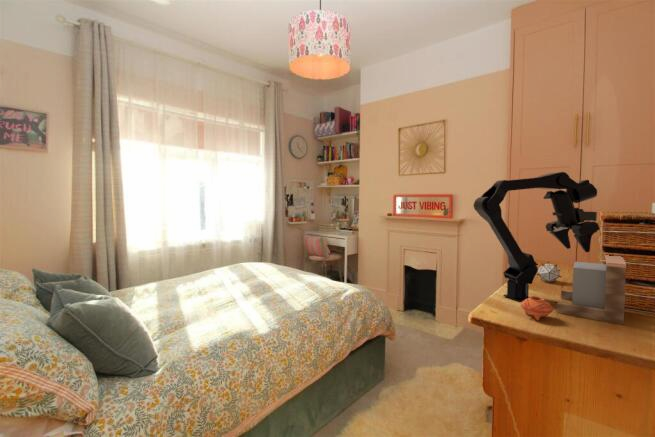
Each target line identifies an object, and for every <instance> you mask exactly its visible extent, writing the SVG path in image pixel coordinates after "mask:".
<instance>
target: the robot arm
mask: <svg viewBox="0 0 655 437" xmlns="http://www.w3.org/2000/svg"><path fill="white" fill-rule="evenodd" d="M530 189H531V190H532V189H541V190H548V191H546V193H545V195H544V196H543V197H542V198H543V200H548V199H549V200H551V205H552V208H553V209H554V211H553V212H552V216H556V220H554V221H550V222H547V223H546V224H545V229H546V231H547V232H549V234H551V235H552V236H553V237H554V238H555V239H557V240H558V242H560V243H561V244H562V245H563V247H565V248H566V249H567V250H569V249H571V242H570V237H569V231H570V230H571V231H572V233H573V237H574V239H575V240H576V241H577V242H578V244H579V245H580V246H581V248H582V250H583V251H584V252H585V253H589V252H590V251H591V242H592V237H593V235H594V234H595V233H597V232H598V231H599V230H601V228H600V225H599V223H598V222H597V216H598V214H597V213H598V212H597V211H585V210H584V209H583V208H579V207H576V206H575V204H579V203H582V202H585V201H589V200H591V199H595V198H596V197H597V195H598V189H597V187H596V186H595V185H594V184H592V183H591V182H590V180H589V179H584V180H580V181H578V182H577V181H575V180H574V179H573V178H571V177H570V175H569V174H568V173H567V172H565V171H558V172H549V173H546V174H542V175H539V176H537V177H529V178H519V179H511V180H508V179H502V180H497V181H496V182H494V183H493V185H492V186H490V188H489V189H488V190H486V191H485V192H484V193H482V195H481V196H480V197H477V198H476V199H475V201H474V202H473V209H474V210H475V212H477V214H478V215H479V216H480V217H481V218H482V219H483V220H485V221H486V223H488V225H489V226H490V228H491V230H492V231H493V233H494V234H495V236H496V239H497V240H498V241H499V244H500V245H501V247H502V248H503V250H504V251H505V253H506V255H507V262H508V267H507V268H506V270H505V271H503V273H502V274H503V277H504V278H505V279H507V281H506V284H507V287H506V288H507V289H506V290H507V291H506V294H503V295H502V296H503V297H504V296H505V298H508V299H511V300H512V301H513V300H514V301H515V302H516V301H517V302H523V301H524V300H525V299H527V298H530V297H531V296H529V290H530V289H529V288H530V287H529V286H530V285H532V283H533V281H534V279H535V277H536V276H537V274H538V268H539V267H538V265H539V264H538V263H537V262H536V261H535V259H534V257H533V255H532V254H530V253H527V252H523V251H522V249H521V248H520V246H519V244H518V242H517V241H516V239H515V237H514V235H513V234H512V232H511V230H510V228H509V227H508V226H507V224H506V222H505V221H504V218H503V216H502V215H503V214H502V207H501V204H502V203H503V201H504V199H505V198H506V195H507V193H509V192H510V191H519V190H530ZM549 190H550V191H549ZM552 190H555V191H552Z"/></svg>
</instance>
